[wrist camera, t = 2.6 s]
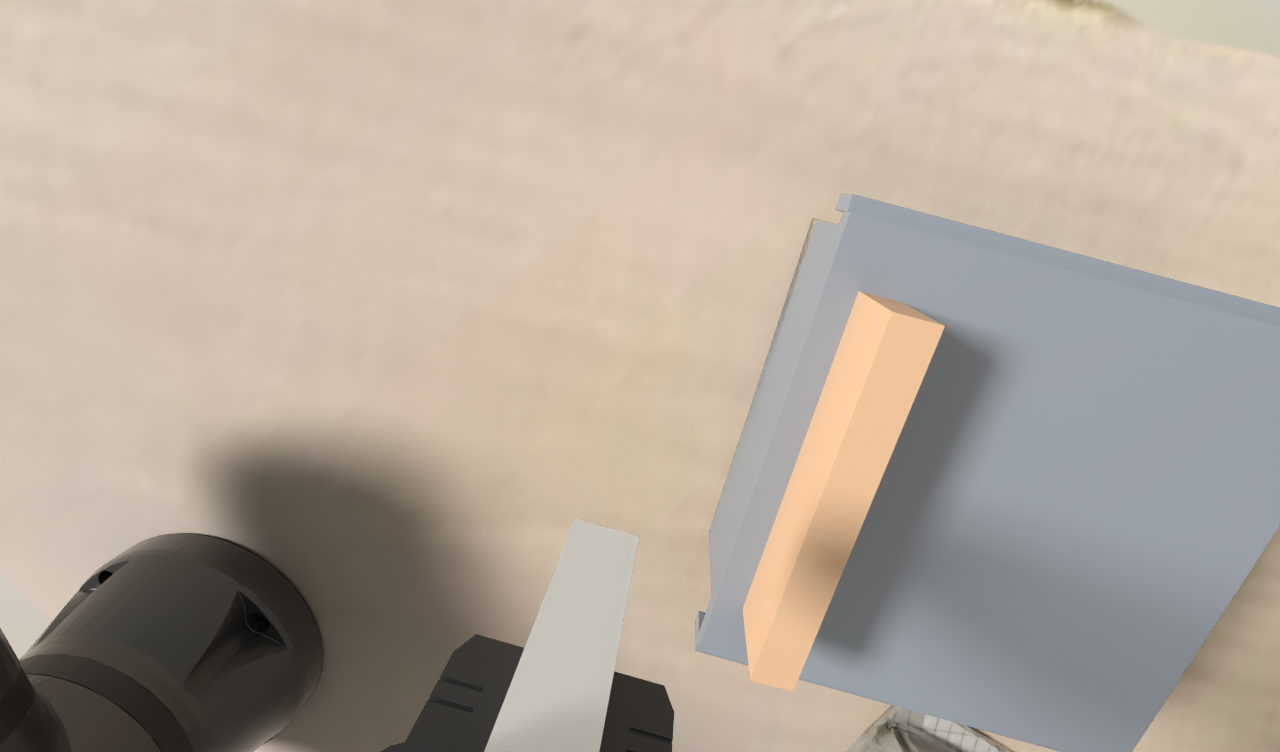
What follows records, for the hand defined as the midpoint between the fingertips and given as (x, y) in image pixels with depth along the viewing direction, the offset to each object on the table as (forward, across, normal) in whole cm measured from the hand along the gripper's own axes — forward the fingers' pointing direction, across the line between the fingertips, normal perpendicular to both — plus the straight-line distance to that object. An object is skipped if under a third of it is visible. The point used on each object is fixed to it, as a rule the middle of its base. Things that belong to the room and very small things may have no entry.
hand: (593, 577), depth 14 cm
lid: (+13, +15, 0) cm, 20 cm away
